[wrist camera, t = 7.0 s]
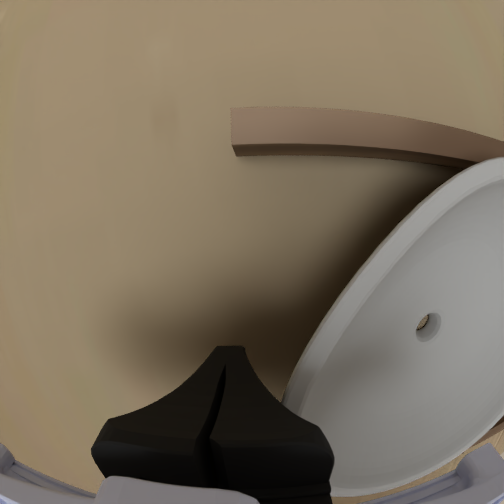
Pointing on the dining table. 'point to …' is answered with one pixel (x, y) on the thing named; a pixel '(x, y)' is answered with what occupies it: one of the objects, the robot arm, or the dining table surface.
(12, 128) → the dining table surface
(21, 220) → the dining table surface
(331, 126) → the caddy
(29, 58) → the dining table surface
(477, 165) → the dish
